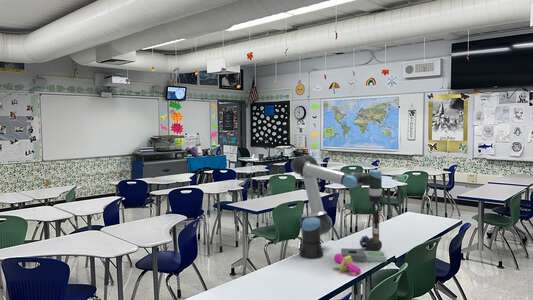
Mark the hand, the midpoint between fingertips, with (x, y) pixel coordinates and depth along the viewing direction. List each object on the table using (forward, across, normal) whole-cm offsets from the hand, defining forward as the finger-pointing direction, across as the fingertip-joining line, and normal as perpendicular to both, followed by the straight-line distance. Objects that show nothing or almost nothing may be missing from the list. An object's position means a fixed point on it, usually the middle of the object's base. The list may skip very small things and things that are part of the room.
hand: (375, 232), depth 258 cm
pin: (+6, 0, 0) cm, 6 cm away
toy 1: (+17, -22, +18) cm, 34 cm away
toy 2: (+17, +18, +2) cm, 25 cm away
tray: (+17, 0, 0) cm, 17 cm away
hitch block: (+17, 0, +14) cm, 22 cm away
